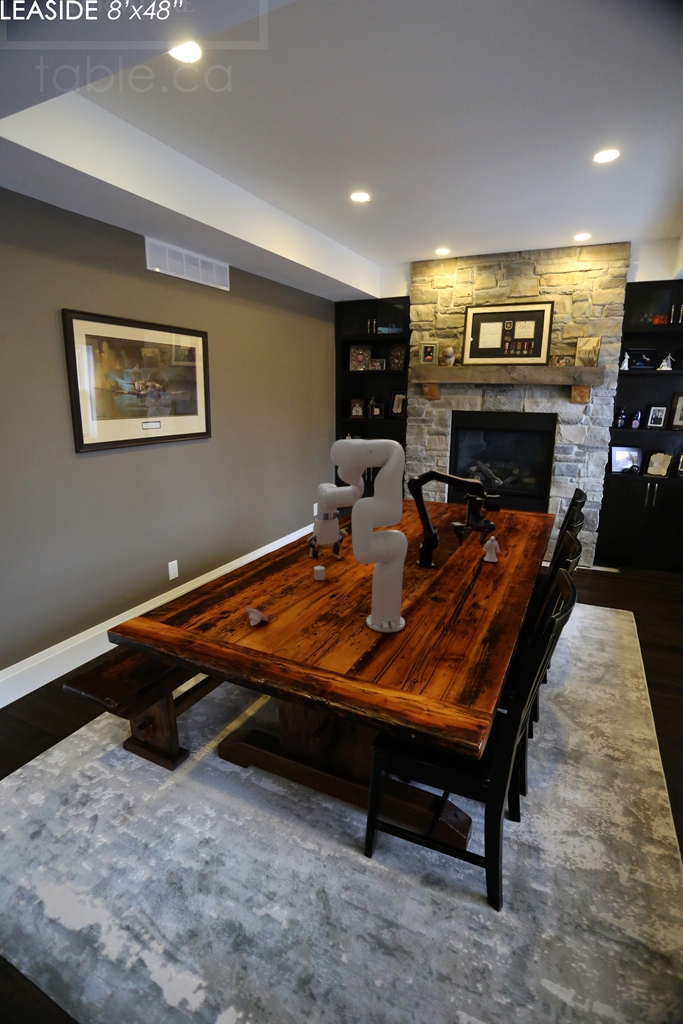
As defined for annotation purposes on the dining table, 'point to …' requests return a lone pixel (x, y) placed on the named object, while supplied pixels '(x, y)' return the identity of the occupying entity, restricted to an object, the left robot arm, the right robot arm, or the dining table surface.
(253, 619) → the seashell
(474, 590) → the dining table surface
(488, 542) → the figurine
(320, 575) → the canister
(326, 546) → the toy
